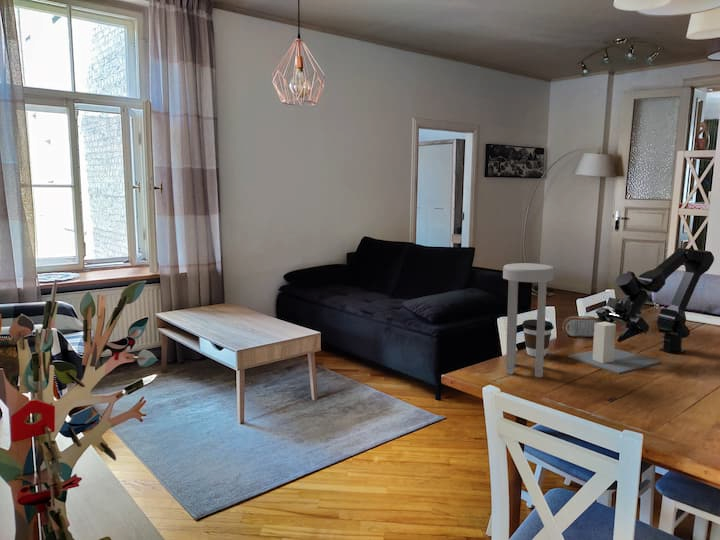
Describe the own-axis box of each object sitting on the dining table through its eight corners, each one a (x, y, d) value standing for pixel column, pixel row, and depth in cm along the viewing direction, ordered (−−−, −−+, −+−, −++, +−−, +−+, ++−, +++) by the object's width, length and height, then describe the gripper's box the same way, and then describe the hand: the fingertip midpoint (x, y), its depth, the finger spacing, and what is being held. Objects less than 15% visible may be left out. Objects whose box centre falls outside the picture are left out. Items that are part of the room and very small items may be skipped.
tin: (599, 335, 215) (600, 315, 214) (602, 338, 212) (603, 317, 211) (561, 335, 216) (562, 315, 215) (563, 337, 213) (564, 317, 212)
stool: (498, 375, 170) (501, 268, 165) (503, 360, 185) (505, 262, 180) (549, 380, 165) (553, 270, 160) (549, 365, 179) (554, 263, 174)
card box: (603, 357, 185) (605, 321, 183) (613, 361, 181) (616, 324, 179) (592, 359, 183) (594, 323, 181) (602, 363, 179) (604, 326, 177)
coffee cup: (553, 352, 194) (555, 320, 192) (550, 361, 184) (552, 327, 182) (523, 348, 198) (524, 317, 197) (518, 357, 189) (519, 324, 187)
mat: (608, 348, 198) (608, 346, 198) (659, 362, 180) (660, 361, 180) (567, 357, 187) (567, 355, 187) (618, 374, 170) (618, 372, 170)
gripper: (600, 285, 190) (575, 318, 187) (644, 294, 172) (617, 330, 170) (616, 304, 193) (591, 336, 191) (661, 315, 176) (634, 351, 174)
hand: (607, 338), depth 182 cm, fingers open, 9 cm apart
